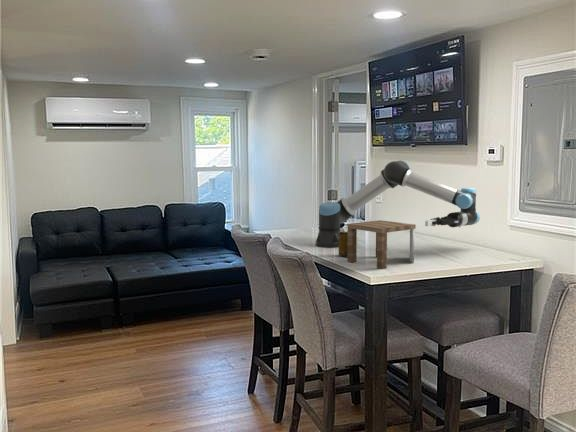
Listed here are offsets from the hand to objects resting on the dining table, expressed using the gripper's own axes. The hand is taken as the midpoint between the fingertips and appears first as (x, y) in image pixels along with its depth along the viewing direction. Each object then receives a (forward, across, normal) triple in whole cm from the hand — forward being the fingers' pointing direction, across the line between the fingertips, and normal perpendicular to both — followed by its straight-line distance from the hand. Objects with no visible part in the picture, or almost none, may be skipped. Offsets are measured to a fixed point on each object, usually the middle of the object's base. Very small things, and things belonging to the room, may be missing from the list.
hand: (426, 223), depth 267 cm
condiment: (+27, +28, -17) cm, 42 cm away
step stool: (+26, +6, -17) cm, 31 cm away
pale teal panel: (+11, 0, -16) cm, 20 cm away
